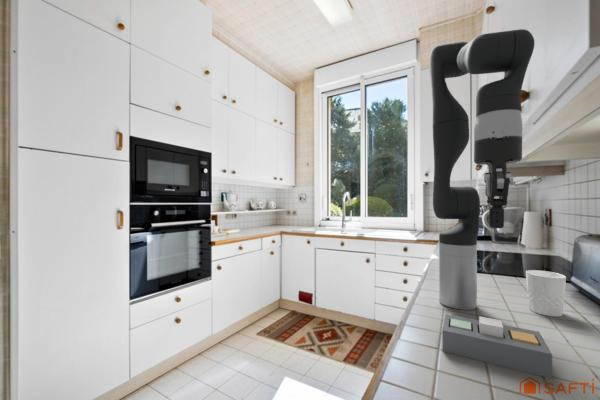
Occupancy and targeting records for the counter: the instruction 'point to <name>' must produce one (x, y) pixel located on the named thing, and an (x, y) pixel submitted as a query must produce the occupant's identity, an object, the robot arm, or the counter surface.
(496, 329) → the off-white key
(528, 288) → the white cup
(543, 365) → the keypad
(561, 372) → the counter surface
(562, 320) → the counter surface
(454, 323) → the sage green key
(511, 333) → the amber key
